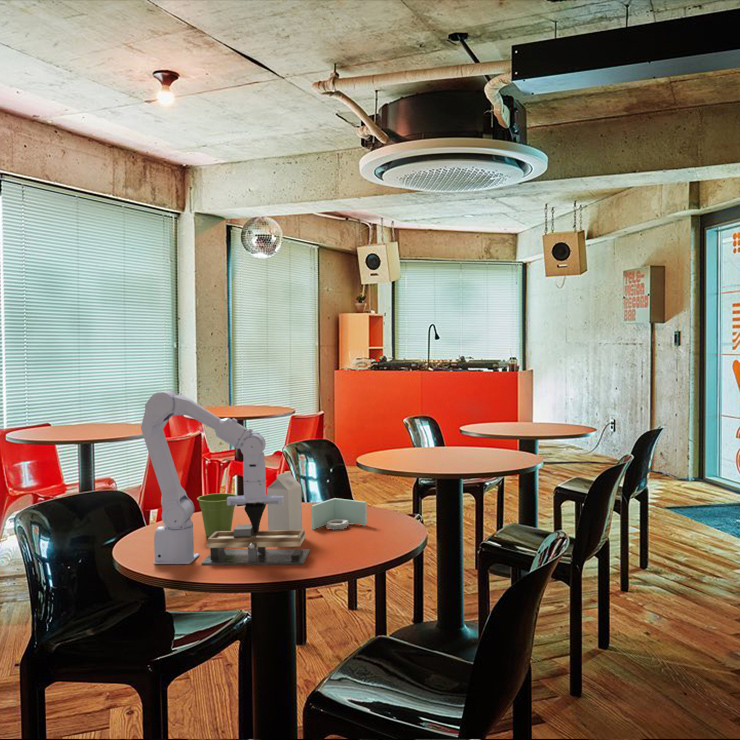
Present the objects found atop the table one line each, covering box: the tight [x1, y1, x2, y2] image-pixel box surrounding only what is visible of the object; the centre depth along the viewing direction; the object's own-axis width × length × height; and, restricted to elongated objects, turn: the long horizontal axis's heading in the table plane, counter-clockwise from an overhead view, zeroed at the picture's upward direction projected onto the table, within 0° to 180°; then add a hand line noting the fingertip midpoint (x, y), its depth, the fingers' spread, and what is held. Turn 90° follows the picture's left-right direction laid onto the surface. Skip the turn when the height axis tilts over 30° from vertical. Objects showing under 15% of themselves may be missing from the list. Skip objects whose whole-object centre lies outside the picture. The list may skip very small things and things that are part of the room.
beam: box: [206, 529, 306, 549], centre depth 178 cm, size 24×8×2 cm, turn 86°
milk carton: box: [266, 470, 303, 531], centre depth 196 cm, size 7×7×19 cm
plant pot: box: [196, 492, 238, 538], centre depth 202 cm, size 12×12×11 cm
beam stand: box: [200, 543, 311, 566], centre depth 178 cm, size 26×13×5 cm, turn 86°
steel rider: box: [232, 523, 256, 538], centre depth 178 cm, size 4×5×3 cm
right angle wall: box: [310, 497, 368, 531], centre depth 208 cm, size 12×12×8 cm
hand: (256, 532), depth 178 cm, fingers closed
